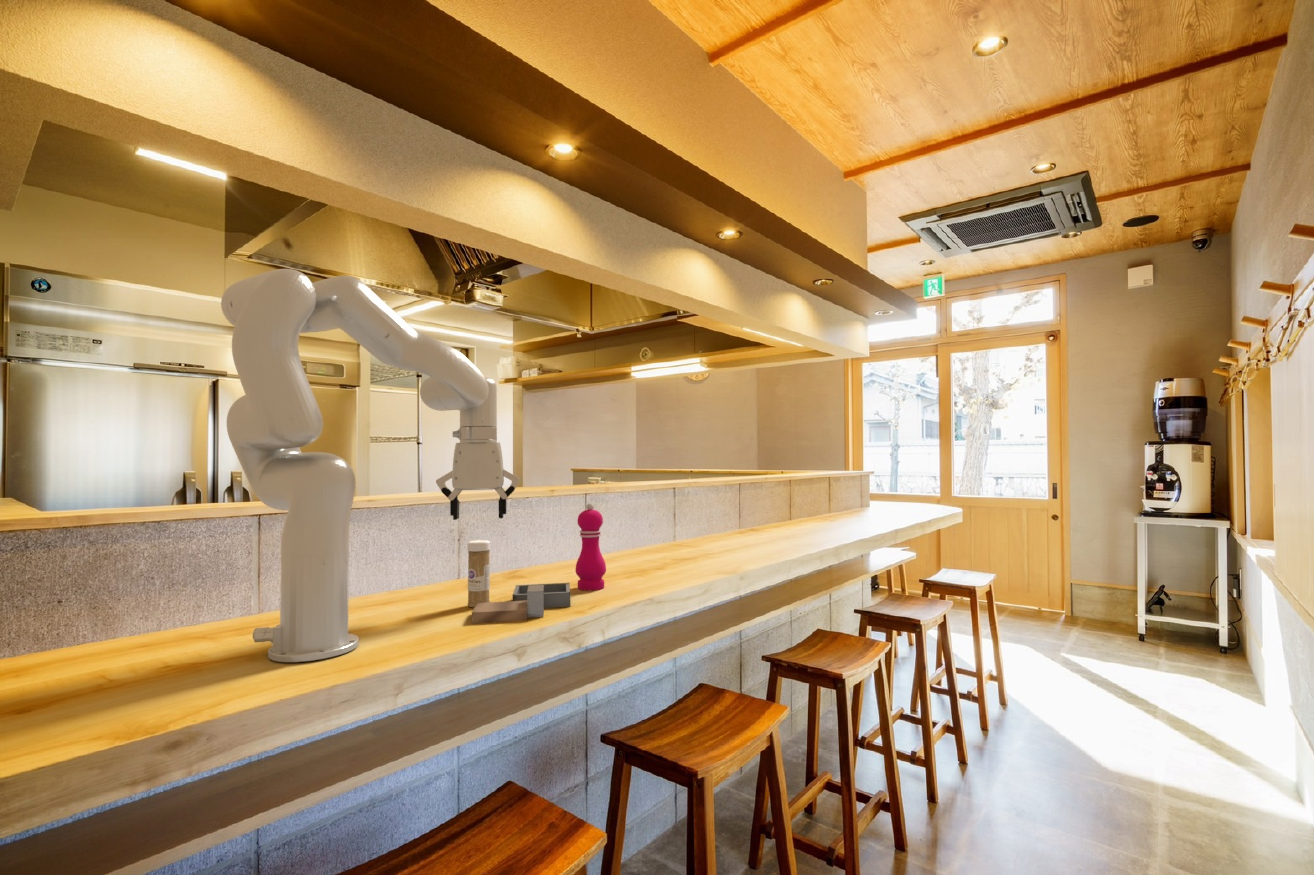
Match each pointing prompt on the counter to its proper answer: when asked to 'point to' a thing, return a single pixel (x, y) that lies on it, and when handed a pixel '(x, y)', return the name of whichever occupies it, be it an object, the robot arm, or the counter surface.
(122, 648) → the counter surface
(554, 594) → the tray
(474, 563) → the sprinkles bottle
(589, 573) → the pepper mill
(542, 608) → the block
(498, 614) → the board
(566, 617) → the counter surface
